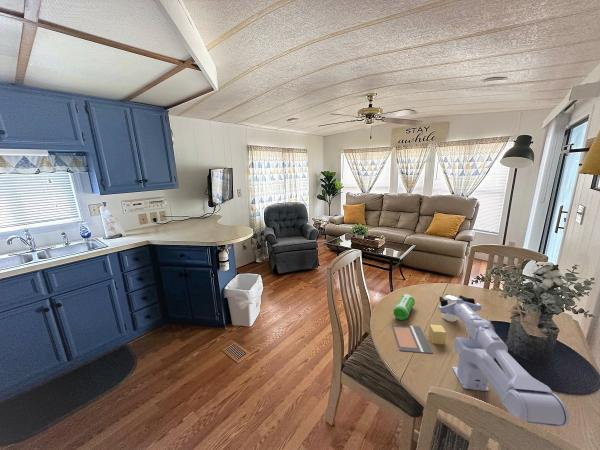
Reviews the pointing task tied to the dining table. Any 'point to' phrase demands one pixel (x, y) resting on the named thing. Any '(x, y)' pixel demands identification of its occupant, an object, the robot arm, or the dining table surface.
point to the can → (450, 299)
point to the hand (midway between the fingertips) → (450, 298)
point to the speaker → (404, 307)
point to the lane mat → (411, 339)
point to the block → (437, 334)
